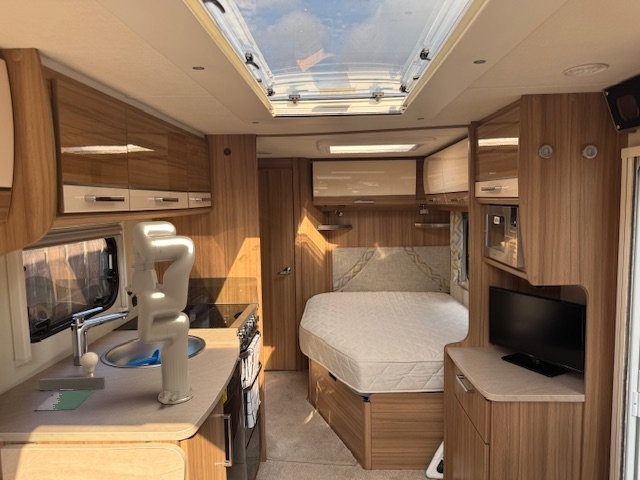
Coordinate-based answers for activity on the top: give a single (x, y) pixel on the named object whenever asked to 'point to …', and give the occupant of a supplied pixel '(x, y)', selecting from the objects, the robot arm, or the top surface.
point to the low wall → (73, 383)
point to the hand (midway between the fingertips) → (146, 305)
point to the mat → (71, 400)
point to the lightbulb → (89, 363)
